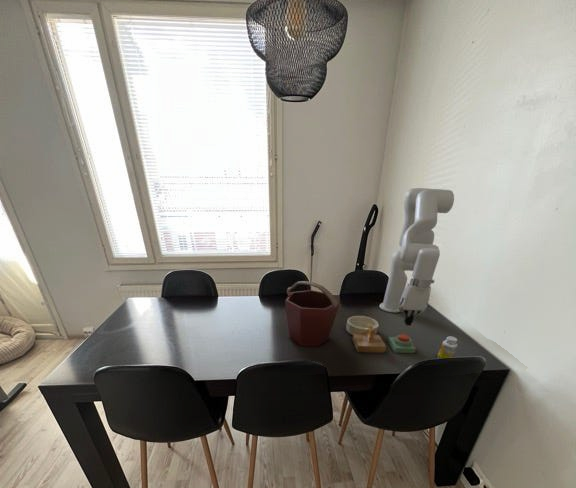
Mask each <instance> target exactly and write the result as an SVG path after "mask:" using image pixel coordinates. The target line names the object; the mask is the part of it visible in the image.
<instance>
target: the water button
mask: <svg viewBox="0 0 576 488" xmlns="http://www.w3.org/2000/svg"><path fill="white" fill-rule="evenodd" d="M398 335H399V337H398V340H400V341H402V342H408V340H409V338H410V336H409V335H407V334H405V333H400V334H398Z"/></svg>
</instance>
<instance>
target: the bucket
mask: <svg viewBox="0 0 576 488" xmlns="http://www.w3.org/2000/svg"><path fill="white" fill-rule="evenodd" d="M299 285H307V286H311V287H314V288H316V289H318V290H319V291H318V290H315V289H314V290H313V289H307V290H299V291H292V290H295V289H296V288H297V287H298V286H299ZM286 294H287V297H286V299H285V303H284V305H285V306H284V308H285V313H286V314H285V315H286V320H287V326H288V333H289V338H290V340H291V341H293V342H295V343H296V344H298V345H299V346H303V347H319V346H321V345H322V344H324V343H326V342H327V341H328V339H329V336H330V334H331V331H332V328H333V326H334V322H335V320H336V317H337V315H338V311H339V308H340V302H339V300H338V299H337V298H336V297H335V296H334V295H333V293H332V292H331V291H330V290H328V289H327V288H326V287H325V286H324V285H322V284H319V283H316V282H313V281H307V280H301V281H300V280H299V281H296V282H294V283H293V284H292V285H291V286H289V287H288V288H287V290H286Z"/></svg>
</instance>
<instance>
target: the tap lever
mask: <svg viewBox="0 0 576 488" xmlns="http://www.w3.org/2000/svg"><path fill="white" fill-rule="evenodd" d="M374 333H375V331H374V330H373V328H372V326H371V324H366V329H365V336H366V338H367V340H368V342H373V338H374Z"/></svg>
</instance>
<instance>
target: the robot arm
mask: <svg viewBox="0 0 576 488" xmlns="http://www.w3.org/2000/svg"><path fill="white" fill-rule="evenodd" d="M403 201H404V202H403V207H404V208H403V209H404V219H403V224H402V227H401V230H400V235H399V236H400V237H399V242H398V244H399V246H400V250H396V251H394V253H392V256H391V263H390V271H389V275H388V281H387V285H386V289H385V293H384V297H383V301H382V302H381V303H380V304H379V309H380V310H382V311H384V312H387V313H404V314H405V317H404V321H403V322H404V324H405V325H406V326H408V327H409V326H412V323H413V322H414V319H415V318H416V316H417V315H419V314H421V313H425V312H426V309H427V307H428V304H429V301H430V297H431V289H432V284H435V279H433V277H434V276H435V275H434V274H435V271H436V268H437V266H438V262H439V260H440V256H441V253H440V251H441V250H440V249H439V246H438V245H436V244H434V241H435V232H434V231H433V229H435V227H436V226H437V224H438V214H448V213H449V212H450V211H451V210H452V208H453V206H454V202H455V194H454V192H453V191H452V190H450V189H442V188H441V189H439V188H428V187H427V188H425V187H424V188H423V187H415V188H410V189H408V190H407V191H406V193H405V195H404V200H403ZM405 271H406V272H407V271H408V272H409V271H410V272H412V274H411V276H410V277H411V278H410V281H409V282H408V275H407V274H406V272H405ZM407 282H408V283H407Z"/></svg>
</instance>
